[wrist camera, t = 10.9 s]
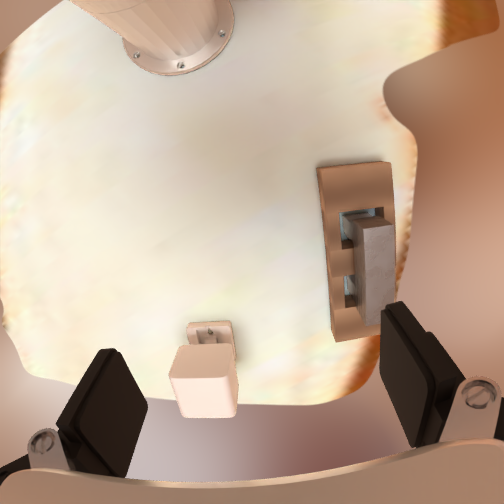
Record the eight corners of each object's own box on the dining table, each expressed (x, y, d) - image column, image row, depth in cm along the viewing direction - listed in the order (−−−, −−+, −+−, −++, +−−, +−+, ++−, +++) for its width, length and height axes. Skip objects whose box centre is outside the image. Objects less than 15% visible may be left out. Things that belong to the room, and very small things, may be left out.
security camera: (194, 366, 42) (180, 417, 32) (184, 323, 40) (164, 372, 30) (240, 364, 41) (236, 417, 32) (233, 320, 39) (226, 371, 30)
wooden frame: (316, 168, 33) (321, 169, 30) (380, 161, 33) (390, 162, 30) (331, 329, 39) (335, 342, 37) (386, 319, 39) (393, 331, 36)
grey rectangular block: (342, 211, 35) (363, 229, 27) (367, 208, 35) (393, 224, 27) (347, 292, 38) (366, 326, 30) (370, 288, 38) (393, 320, 30)
